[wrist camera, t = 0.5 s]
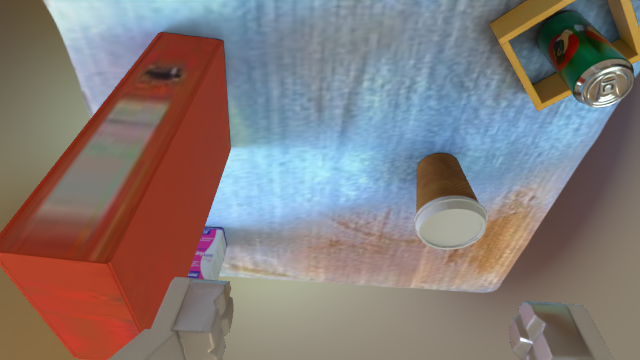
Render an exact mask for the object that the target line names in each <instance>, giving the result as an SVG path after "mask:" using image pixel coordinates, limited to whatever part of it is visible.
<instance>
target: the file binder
mask: <svg viewBox="0 0 640 360" xmlns="http://www.w3.org/2000/svg"><path fill="white" fill-rule="evenodd" d="M230 150H231V147H230V132H229V116H228V101H227V85H226V70H225V54H224V41H220V40H218V39H210V38H203V37H195V36H187V35H180V34H172V33H164V32H161V33H158V34H157V36H156V37H155V38H154V39H153V41H152V42H151V43H150V45H149V46H148V47H147V48H146V50H145V51H144V52H143V53H142V55H141V56H140V57H139V58H138V60H137V61H136V62H135V64H134V65H133V66H132V67H131V69H130V70H129V71H128V72H127V74H126V75H125V76H124V77H123V79H122V80H121V81H120V82H119V84H118V85H117V86H116V88H115V89H114V90H113V91H112V93H111V94H110V95H109V96H108V98H107V99H106V100H105V101H104V103H103V104H102V105H101V107H100V108H99V109H98V110H97V112H96V113H95V114H94V115H93V117H92V118H91V119H90V121H89V122H88V123H87V124H86V126H85V127H84V128H83V129H82V131H81V132H80V133H79V134H78V136H77V137H76V138H75V139H74V141H73V142H72V143H71V145H70V146H69V147H68V148H67V150H66V151H65V152H64V153H63V155H62V156H61V157H60V159H59V160H58V161H57V162H56V163H55V165H54V166H53V167H52V169H51V170H50V171H49V172H48V174H47V175H46V176H45V178H44V179H43V180H42V181H41V182H40V184H39V185H38V186H37V188H36V189H35V190H34V191H33V193H32V194H31V195H30V196H29V198H28V199H27V200H26V201H25V203H24V204H23V205H22V207H21V208H20V209H19V210H18V212H17V213H16V214H15V215H14V217H13V218H12V219H11V220H10V222H9V223H8V224H7V225H6V227H5V228H4V230H3V231H2V232H1V233H0V266H1V267H2V269H3V270H4V271H5V272H6V274H7V275H8V276H9V277H10V279H11V280H12V281H13V282H14V284H15V285H16V286H17V287H18V289H19V290H20V291H21V292H22V294H23V295H24V296H25V297H26V298H27V300H28V301H29V302H30V303H31V304H32V306H33V307H34V308H35V310H36V311H37V312H38V313H39V315H40V316H41V317H42V318H43V320H44V321H45V322H46V323H47V325H48V326H49V327H50V328H51V330H52V331H53V332H54V333H55V334H56V336H57V337H58V338H59V339H60V341H61V342H62V343H63V344H64V346H65V347H66V348H67V349H68V351H69V352H70V353H71V354H72V356H73V357H74V358H78V359H83V360H108V359H109V358H111V357H112V356H113V355H114V354H115V353H117V352H118V351H119V350H120V349H121V348H123V347H124V346H125V345H126V344H128V343H129V342H130V341H131V340H132V339H134V338H135V337H136V336H137V335H139V334H140V333H141V332H142V331H143V330H145V329H151V327H152V325H153V322H154V320H155V318H156V315H157V313H158V311H159V308H160V306H161V304H162V302H163V299H164V297H165V295H166V292H167V290H168V288H169V285H170V283H171V281H172V280H173V279H174V278H175V277H185V278H187V277H188V274H189V271H190V268H191V265H192V262H193V259H194V256H195V253H196V250H197V247H198V244H199V241H200V239H201V236H202V233H203V230H204V227H205V224H206V221H207V218H208V215H209V212H210V209H211V206H212V203H213V200H214V197H215V194H216V191H217V189H218V186H219V183H220V180H221V177H222V174H223V171H224V168H225V165H226V162H227V159H228V156H229V153H230Z"/></svg>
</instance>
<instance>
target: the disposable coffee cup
mask: <svg viewBox="0 0 640 360" xmlns="http://www.w3.org/2000/svg"><path fill="white" fill-rule="evenodd" d="M416 206H417V208H416V209H417V210H416V213H417V215H416V217H415V220H414V229H415V232H416V233H417V235H418V236H419V237H420V239H421V240H422V242H424V243H425V244H426V245H428V246H430V247H432V248H436V249H442V250H453V249H459V248H463V247H466V246H468V245H471V244H473V243H474V242H476V241H477V240H479V239H480V238H481V237H482V236H483V234H484V232H485V230H486V224H487V222H488V216H487V212H486V210H485V209H484V207H483V206H482V205H480V203H479V202H478V200H477V198H476V197H475V194H474V192H473V191H472V188H471V186H470V185H469V182H468V180H467V179H466V176H465V174H464V172H463V170H462V168H461V166H460V164H459V162H458V160H457V159H456V158H455V157H454V156H452V155H450V154H446V153H436V154H432V155H429V156H427V157H425V158H424V159H423V160H422V161H421V162H420V163H419V164H418V166H417V204H416Z"/></svg>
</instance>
